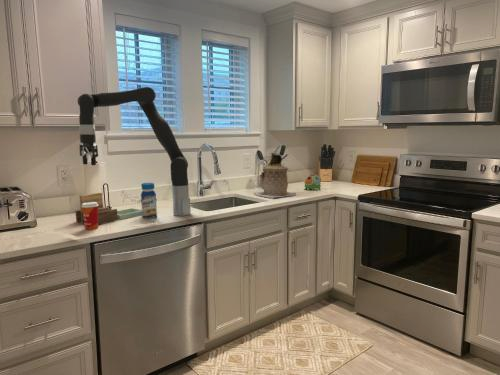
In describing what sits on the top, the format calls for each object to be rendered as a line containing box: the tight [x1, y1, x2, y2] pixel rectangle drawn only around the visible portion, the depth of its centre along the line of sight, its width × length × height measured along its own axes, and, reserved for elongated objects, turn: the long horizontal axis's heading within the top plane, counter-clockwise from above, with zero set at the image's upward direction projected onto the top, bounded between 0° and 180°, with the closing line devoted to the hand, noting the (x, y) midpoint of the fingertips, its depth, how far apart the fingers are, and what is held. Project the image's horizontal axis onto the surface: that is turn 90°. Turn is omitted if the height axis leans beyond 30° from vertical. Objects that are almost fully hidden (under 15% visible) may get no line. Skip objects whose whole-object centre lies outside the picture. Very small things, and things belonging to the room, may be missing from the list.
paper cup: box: [80, 202, 99, 231], centre depth 182 cm, size 8×8×14 cm
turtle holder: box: [304, 174, 322, 192], centre depth 303 cm, size 12×18×12 cm
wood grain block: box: [79, 192, 104, 212], centre depth 200 cm, size 3×11×14 cm, turn 143°
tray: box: [117, 207, 142, 221], centre depth 211 cm, size 12×16×4 cm
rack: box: [75, 206, 119, 225], centre depth 198 cm, size 15×15×8 cm
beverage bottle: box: [140, 182, 158, 220], centre depth 207 cm, size 8×8×20 cm
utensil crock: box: [252, 152, 297, 200], centre depth 277 cm, size 25×25×32 cm
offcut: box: [98, 206, 107, 212], centre depth 197 cm, size 2×10×6 cm, turn 143°
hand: (89, 164), depth 197 cm, fingers open, 8 cm apart
